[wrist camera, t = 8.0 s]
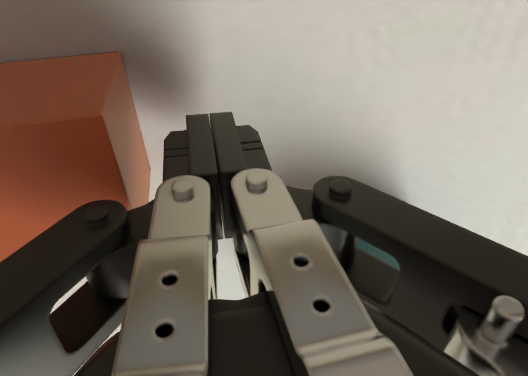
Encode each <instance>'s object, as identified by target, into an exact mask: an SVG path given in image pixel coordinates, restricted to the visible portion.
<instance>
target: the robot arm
mask: <svg viewBox="0 0 528 376" xmlns="http://www.w3.org/2000/svg"><path fill="white" fill-rule="evenodd" d="M186 126H187V130H184V131H172V132H170V133H169V135H168V136H167V137H166V138H165V140H164V159H163V183H162V184H161V185H160V186H159V187H158V188H157V191H156V195H155V199H154V200H152V201H151V202H149V203H147V204H145V205H143V206H140V207H137V208H134V209H131V210H128V211H127V210H126V208H125V206H124V205H123V204H122V203H120V202H118V201H114V200H97V201H92V202H89V203H86V204H84V205H82V206H80V207H78V208H77V209H75V210H74V211H72V212H71V213H69V214H68V215H67V216H65V217H64V218H62V219H61V220H59V221H58V222H57V223H55V224H54V225H52V226H51V227H50V228H48V229H47V230H45V231H44V232H42V233H41V234H40V235H38V236H37V237H35V238H34V239H32V240H31V241H30V242H28V243H27V244H25V245H24V246H23V247H21V248H20V249H18V250H17V251H15V252H14V253H13V254H11V255H10V256H8V257H7V258H6V259H4V260H3V261H1V262H0V376H72V375H73V374H74V373H75V372H76V371H77V370H78V369H79V368H80V367H81V366H82V365H83V364H84V362H85V361H86V360H87V359H88V358H89V357H90V356H91V355H92V354H93V353H94V352H95V353H94V354H93V355H92V356H91V357H90V358H89V359H88V360H87V361H86V363H85V364H84V365H83V366H82V367H81V368H80V369H79V371H78V372H77V373H76V374H75V375H74V376H528V256H526V255H524V254H521V253H519V252H517V251H514V250H512V249H510V248H508V247H505V246H503V245H501V244H499V243H496V242H494V241H492V240H490V239H487V238H485V237H483V236H481V235H478V234H476V233H474V232H471V231H469V230H467V229H465V228H462V227H460V226H458V225H456V224H453V223H451V222H449V221H447V220H444V219H442V218H440V217H438V216H435V215H433V214H431V213H428V212H426V211H424V210H422V209H419V208H417V207H415V206H413V205H410V204H408V203H406V202H404V201H401V200H399V199H397V198H395V197H392V196H390V195H388V194H385V193H383V192H381V191H379V190H376V189H374V188H372V187H370V186H367V185H365V184H363V183H361V182H358V181H356V180H354V179H351V178H348V177H343V176H330V177H325V178H323V179H320V180H319V181H318V182H316V184H315V185H314V188H313V190H304V189H296V188H292V187H289V186H286V185H285V184H284V182H283V181H282V179H281V177H280V176H279V175H278V174H276V173H275V172H273V171H272V170H271V167H270V164H269V161H268V159H267V156H266V153H265V150H264V148H263V145H262V142H261V139H260V137H259V134H258V132H257V131H256V130H255V129H253V128H252V127H251V126H249V125H243V126H236V125H235V122H234V118H233V114H232V112H222V113H210V122H209V116H208V114H197V115H186ZM210 126H211V128H210ZM221 215H222V218H221ZM222 222H223V228H224V234H225V239H226V238H233V241H234V251H235V261H236V264H237V268H238V271H239V275H240V278H241V282H242V285H243V289H244V293H245V296H246V298H245V299H242V300H221V299H218V284H217V256H216V255H217V253H218V241H217V240H219V239H223V231H222ZM358 239H361V240H363V241H365V242H367V243H369V244H371V245H373V246H374V247H376V248H378V249H380V250H382V251H384V252H386V253H388V254H389V255H391V256H392V257H394V258H395V260H396V261H397V262H398V264H399V266H400V270H398V269H396V268H394V267H392V266H391V265H389V264H387V263H385V262H383V261H381V260H380V259H378V258H376V257H374V256H372V255H370V254H368V253H367V252H365V251H363V250H361V249H359V248H357V244H358ZM85 276H86V278H87V280H88V281H87V282H86V283H85V284H84V285H83V286H82V287H80V288H79V289H78V290H77V291H76V292H75V293H74V294H73V295H72V296H70V297H69V298H68V299H67V300H66V301H65V302H64V303H63V304H61V305H60V306H59V307H58V308H57V309H56V310H55V311H54V312H52V313H51V314H50V312H51V310H52V308H53V306H54V305H55V303H56V302H57V301H58V300H59V299H60V298H61V297H62V296H63V295H65V294H66V293H67V292H68V291H69V290H70V289H71V288H73V287H74V286H75V285H76V284H77V283H78V282H79V281H81V280H82V279H83V278H84V277H85ZM121 323H122V325H121V330H120V332H118V333H116V334H115V335H114V336H113V337H111V338H110V339H109V340H107V341H106V342H105V343H104V344H103V345H102V346H101V347H99V346H100V345H101V344H102V343H103V342H104V341H105V340H106V339H107V338H108V337H109V336H110V335H111V333H112V332H113V331H114V330H115V329H116V328H117V327H118V326H119V325H120V324H121ZM98 347H99V348H98Z"/></svg>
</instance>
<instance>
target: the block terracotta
mask: <svg viewBox="0 0 528 376" xmlns="http://www.w3.org/2000/svg"><path fill="white" fill-rule="evenodd" d="M150 171H151V169H150V166H149V162H148V158H147V154H146V150H145V146H144V142H143V138H142V134H141V130H140V126H139V122H138V118H137V114H136V111H135V107H134V103H133V99H132V95H131V91H130V87H129V83H128V79H127V75H126V71H125V67H124V63H123V59H122V55H121V53H120V52H110V53H100V54H90V55H79V56H69V57H59V58H49V59H38V60H28V61H18V62H7V63H0V262H1V261H3V260H4V259H6V258H7V257H8V256H10V255H11V254H13V253H14V252H15V251H17V250H18V249H20V248H21V247H23V246H24V245H25V244H27V243H28V242H30V241H31V240H32V239H34V238H35V237H37V236H38V235H40V234H41V233H42V232H44V231H45V230H47V229H48V228H50V227H51V226H52V225H54V224H55V223H57V222H58V221H59V220H61V219H62V218H64V217H65V216H67V215H68V214H69V213H71V212H72V211H74V210H75V209H77V208H78V207H80V206H82V205H84V204H86V203H89V202H92V201H97V200H114V201H118V202H120V203H122V204H123V205H124V206H125V208H126V210H127V211H128V210H131V209H134V208H137V207H140V206H143V205H145V204H147V203H148V202H149V186H150Z"/></svg>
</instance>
